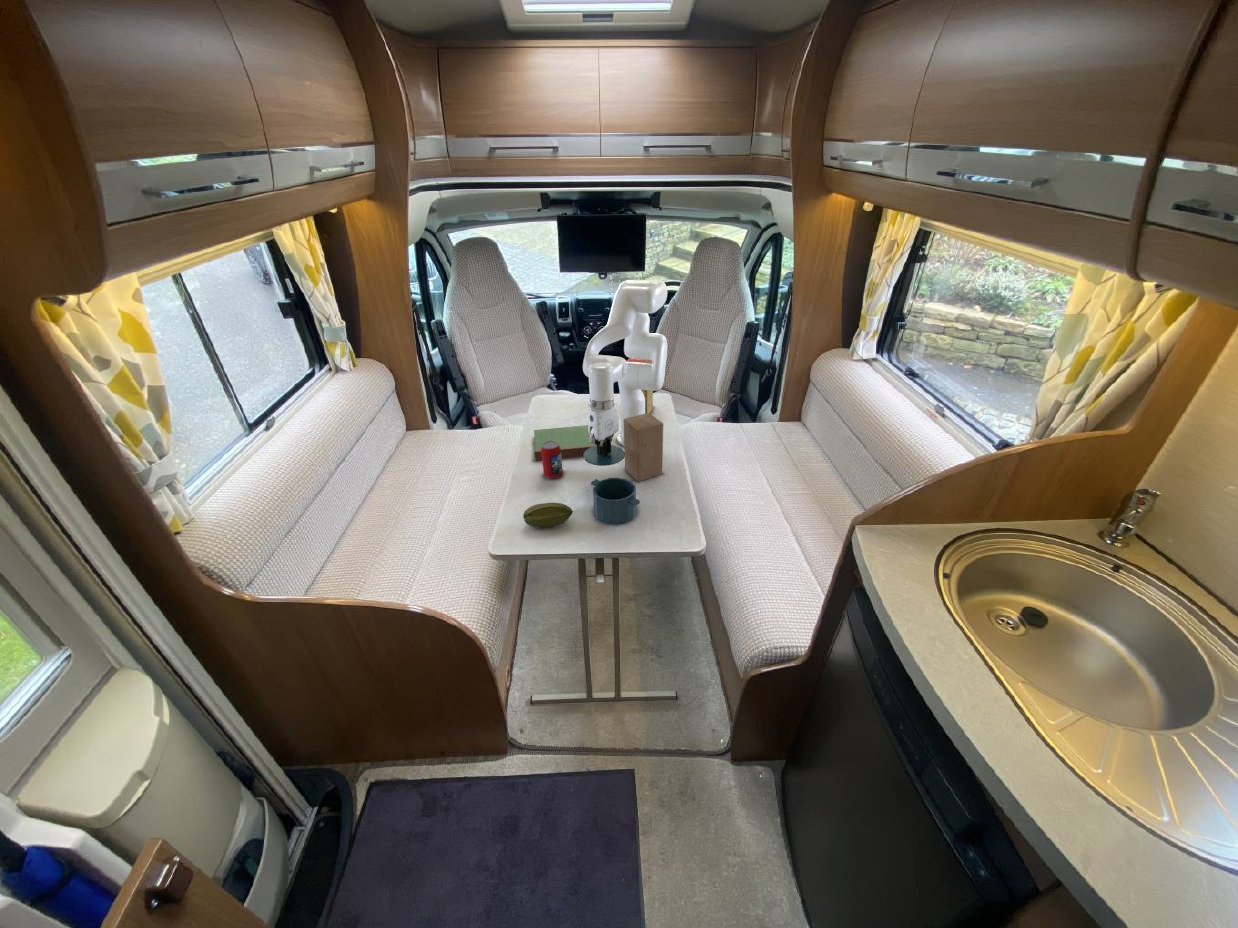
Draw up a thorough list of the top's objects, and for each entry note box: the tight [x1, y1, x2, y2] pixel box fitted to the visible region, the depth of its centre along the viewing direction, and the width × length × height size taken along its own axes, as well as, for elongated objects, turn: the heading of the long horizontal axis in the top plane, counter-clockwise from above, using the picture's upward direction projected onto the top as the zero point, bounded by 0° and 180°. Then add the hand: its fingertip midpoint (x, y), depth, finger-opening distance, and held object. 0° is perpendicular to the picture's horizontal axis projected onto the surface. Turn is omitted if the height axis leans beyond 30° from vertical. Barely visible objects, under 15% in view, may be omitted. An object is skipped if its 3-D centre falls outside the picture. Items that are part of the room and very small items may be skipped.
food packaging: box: [626, 357, 654, 414], centre depth 214 cm, size 13×9×25 cm
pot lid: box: [583, 439, 625, 467], centre depth 165 cm, size 14×14×6 cm
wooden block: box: [623, 413, 664, 482], centre depth 171 cm, size 10×10×20 cm
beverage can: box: [541, 441, 564, 479], centre depth 173 cm, size 7×7×12 cm
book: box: [533, 424, 599, 462], centre depth 193 cm, size 25×19×4 cm
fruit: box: [522, 502, 574, 529], centre depth 149 cm, size 11×12×7 cm
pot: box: [590, 477, 641, 525], centre depth 154 cm, size 13×18×8 cm
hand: (604, 453), depth 166 cm, fingers closed on pot lid, 2 cm apart
